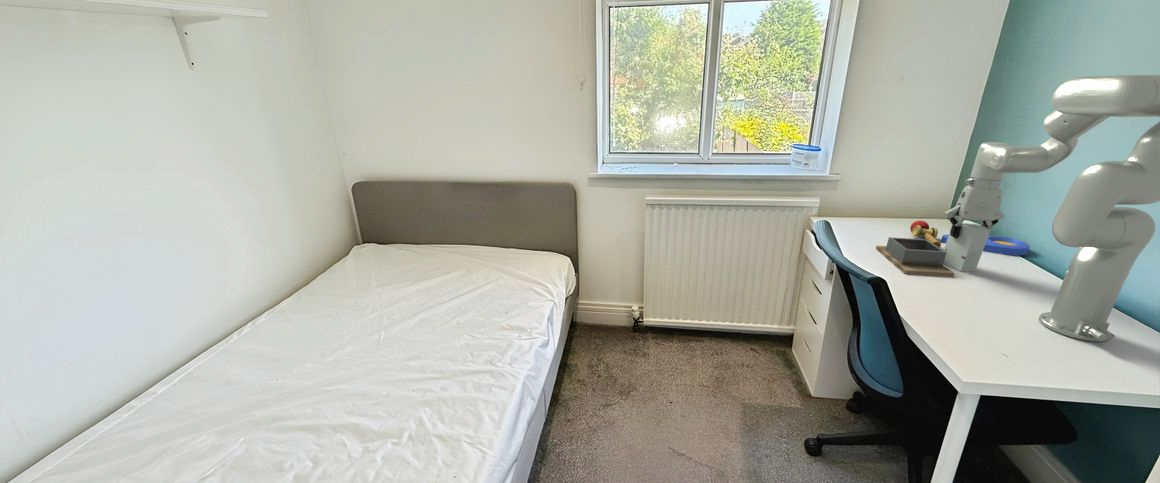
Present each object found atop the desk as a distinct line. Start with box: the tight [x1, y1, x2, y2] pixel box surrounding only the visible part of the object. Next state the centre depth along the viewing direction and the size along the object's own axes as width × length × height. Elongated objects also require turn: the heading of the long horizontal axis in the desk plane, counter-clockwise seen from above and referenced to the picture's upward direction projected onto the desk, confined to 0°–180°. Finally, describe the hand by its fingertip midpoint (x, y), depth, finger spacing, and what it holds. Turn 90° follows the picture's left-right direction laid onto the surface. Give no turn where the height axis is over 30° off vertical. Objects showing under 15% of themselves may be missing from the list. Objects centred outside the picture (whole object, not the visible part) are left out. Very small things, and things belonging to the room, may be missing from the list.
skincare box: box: [943, 220, 992, 272], centre depth 151 cm, size 8×6×15 cm
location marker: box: [940, 234, 1031, 256], centre depth 170 cm, size 13×3×25 cm
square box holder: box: [875, 237, 955, 278], centre depth 156 cm, size 22×14×6 cm, turn 170°
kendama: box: [909, 220, 942, 248], centre depth 176 cm, size 8×6×18 cm
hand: (967, 237), depth 150 cm, fingers closed on skincare box, 7 cm apart
